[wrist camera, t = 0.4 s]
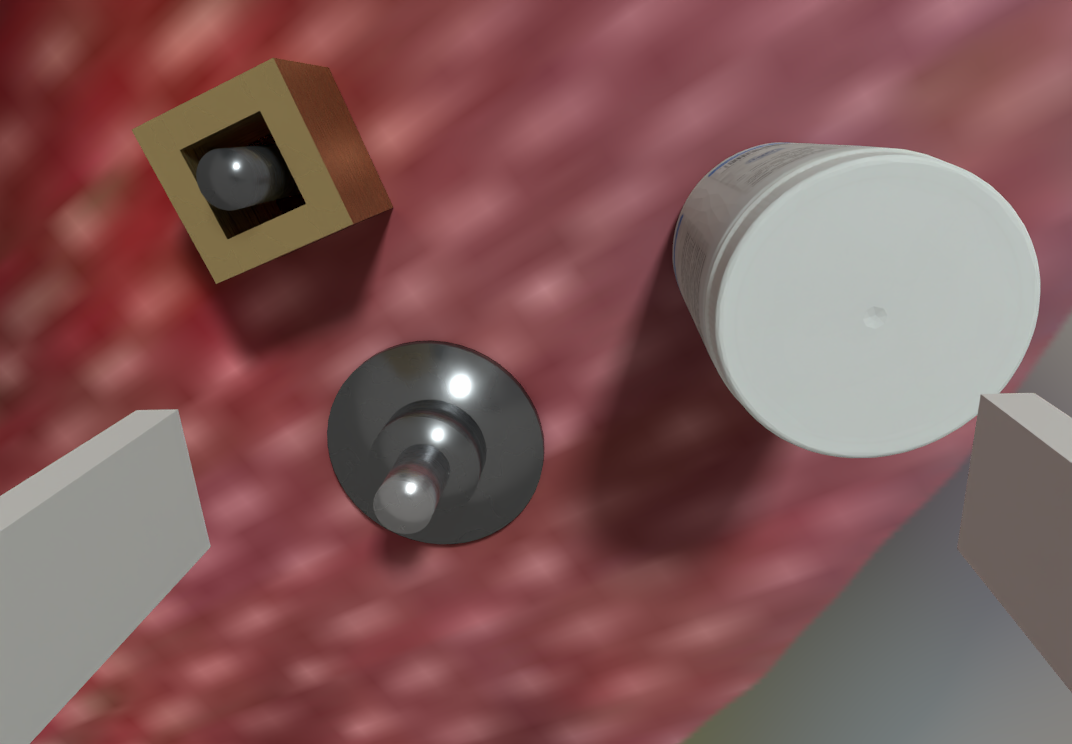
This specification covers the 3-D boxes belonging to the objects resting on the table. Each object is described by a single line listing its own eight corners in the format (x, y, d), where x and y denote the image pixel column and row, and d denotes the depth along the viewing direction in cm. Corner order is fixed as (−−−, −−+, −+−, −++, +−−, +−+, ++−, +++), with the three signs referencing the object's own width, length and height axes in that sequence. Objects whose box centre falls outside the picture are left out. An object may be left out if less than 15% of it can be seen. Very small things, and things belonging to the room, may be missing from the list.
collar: (206, 127, 36) (131, 129, 30) (328, 67, 35) (273, 57, 29) (274, 259, 38) (216, 283, 32) (393, 207, 36) (353, 223, 31)
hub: (293, 385, 40) (231, 437, 34) (491, 307, 38) (465, 348, 31) (389, 562, 43) (349, 642, 37) (577, 502, 41) (570, 576, 34)
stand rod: (268, 154, 36) (185, 162, 29) (309, 134, 36) (235, 138, 29) (291, 200, 37) (215, 219, 30) (332, 181, 36) (265, 196, 29)
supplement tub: (800, 369, 37) (912, 519, 23) (634, 286, 37) (649, 388, 23) (916, 195, 34) (1127, 248, 20) (736, 100, 33) (826, 87, 19)
